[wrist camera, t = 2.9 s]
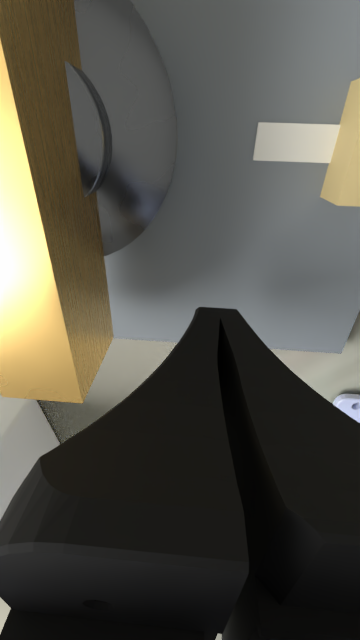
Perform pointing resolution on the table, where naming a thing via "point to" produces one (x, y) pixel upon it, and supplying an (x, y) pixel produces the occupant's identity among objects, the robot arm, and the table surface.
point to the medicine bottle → (21, 443)
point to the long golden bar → (73, 180)
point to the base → (253, 175)
